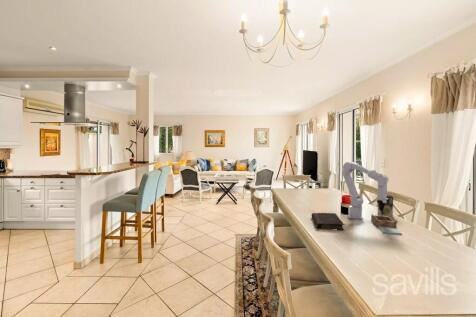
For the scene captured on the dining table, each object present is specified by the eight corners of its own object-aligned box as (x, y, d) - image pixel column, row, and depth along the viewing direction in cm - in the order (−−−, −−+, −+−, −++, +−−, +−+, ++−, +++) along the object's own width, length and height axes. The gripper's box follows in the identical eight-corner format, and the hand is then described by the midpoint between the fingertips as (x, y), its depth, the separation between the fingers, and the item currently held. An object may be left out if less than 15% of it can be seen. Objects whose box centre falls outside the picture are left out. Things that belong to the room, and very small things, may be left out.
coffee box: (388, 213, 199) (389, 194, 198) (392, 216, 192) (393, 196, 192) (377, 213, 200) (377, 194, 199) (380, 215, 193) (381, 196, 192)
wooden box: (376, 226, 168) (376, 219, 167) (371, 220, 180) (371, 214, 180) (396, 228, 165) (396, 220, 164) (389, 222, 177) (390, 215, 177)
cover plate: (383, 234, 156) (383, 231, 156) (378, 228, 166) (378, 226, 166) (401, 235, 153) (401, 233, 153) (395, 229, 163) (395, 227, 163)
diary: (316, 230, 163) (316, 222, 163) (311, 218, 187) (311, 212, 187) (345, 231, 160) (345, 223, 160) (336, 219, 184) (336, 213, 184)
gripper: (391, 194, 166) (390, 213, 167) (385, 190, 180) (384, 208, 181) (380, 193, 168) (379, 212, 169) (374, 189, 182) (373, 207, 183)
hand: (381, 210), depth 175 cm, fingers closed
